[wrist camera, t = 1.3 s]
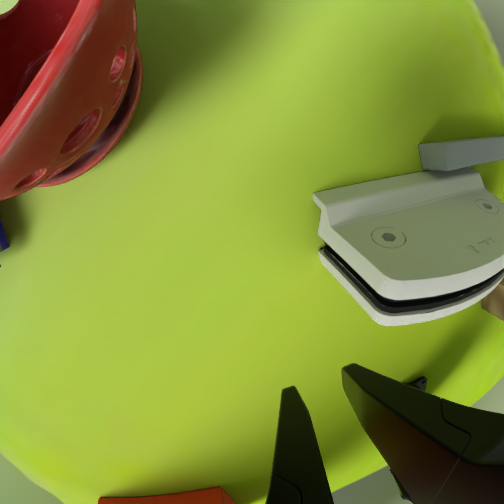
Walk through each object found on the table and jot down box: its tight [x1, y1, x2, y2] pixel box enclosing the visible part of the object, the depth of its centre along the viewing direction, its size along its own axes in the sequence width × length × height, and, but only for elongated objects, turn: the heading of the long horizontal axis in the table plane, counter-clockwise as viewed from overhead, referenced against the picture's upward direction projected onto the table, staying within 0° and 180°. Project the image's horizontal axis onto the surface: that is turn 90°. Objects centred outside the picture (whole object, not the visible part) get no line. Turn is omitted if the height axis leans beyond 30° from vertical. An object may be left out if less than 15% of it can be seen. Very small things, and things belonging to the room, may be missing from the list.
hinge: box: [313, 167, 504, 326], centre depth 18 cm, size 17×5×10 cm, turn 102°
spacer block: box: [481, 278, 504, 321], centre depth 24 cm, size 5×5×4 cm
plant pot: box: [0, 0, 143, 201], centre depth 9 cm, size 13×13×12 cm
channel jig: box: [418, 136, 504, 171], centre depth 20 cm, size 11×16×4 cm
